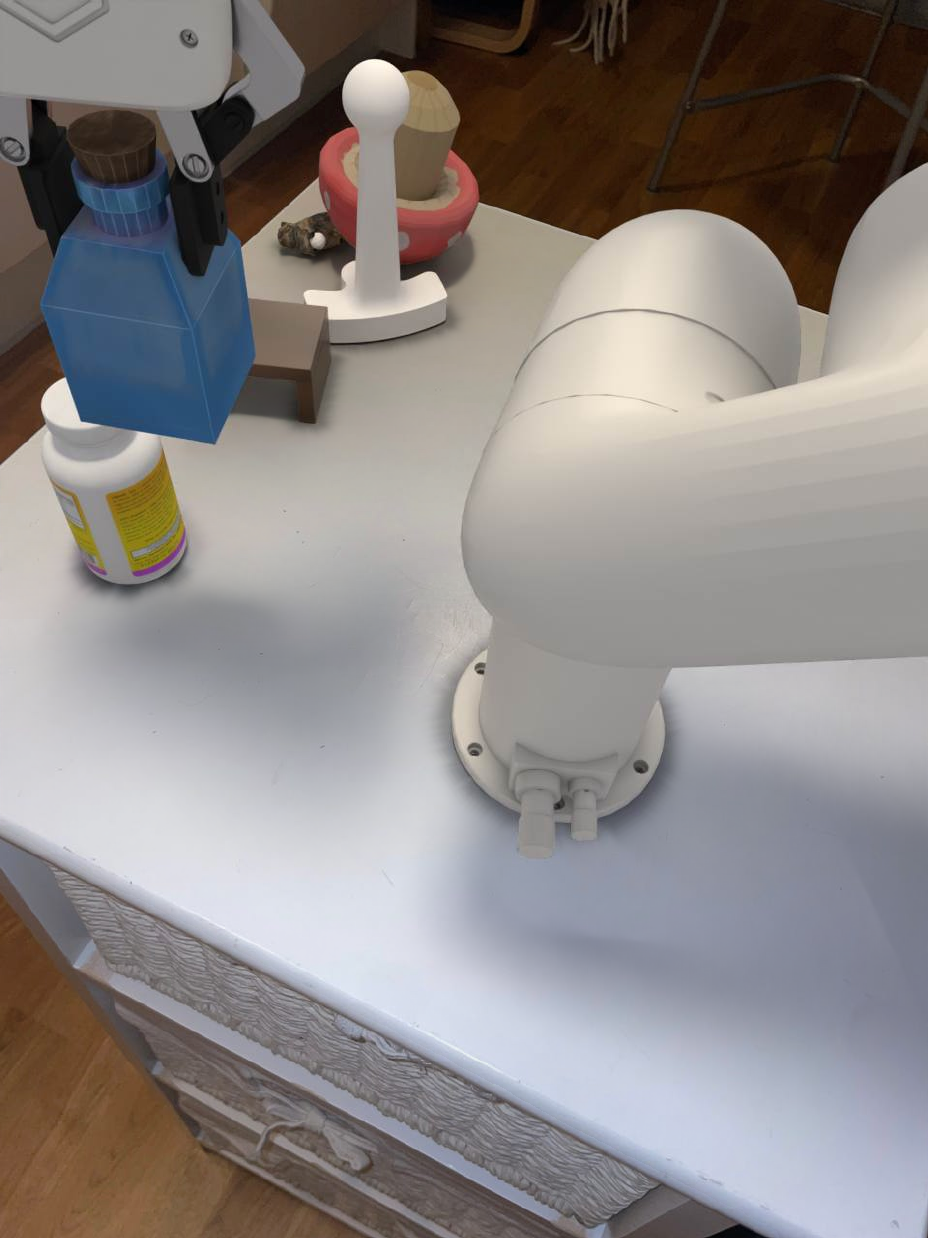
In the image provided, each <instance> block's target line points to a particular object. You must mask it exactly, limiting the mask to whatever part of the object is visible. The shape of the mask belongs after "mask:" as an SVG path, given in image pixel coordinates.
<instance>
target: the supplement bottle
mask: <svg viewBox="0 0 928 1238" xmlns="http://www.w3.org/2000/svg"><path fill="white" fill-rule="evenodd" d="M40 408H41V409H40V410H41V413H42V416H43V419H44V422H45V425H46V428H47V431H46V432H45V434H44V436H43V438H42V441H41V446H40V447H41V449H40V457H41V460H42V461H41V462H42V465H43V468H44V470H45V472H46V474H47V476H48V479H49V482H50V483H51V486H52V488H53V490H54V493H55V495H56V497H57V500H58V502H59V505H60V507H61V510H62V512H63V514H64V517H65V521H66V522H67V524H68V526H69V528H70V531H71V534H72V536H73V538H74V541H75V543H76V545H77V548H78V551H79V552H80V555H81V557H82V560H83V561H84V563H85V564H86V566H87V567H88V569H89V570H90V571H91V572H92V573H93V574H95V575H96V576H97V577H98V578H100V579H102V580H104V581H107V582H109V583H113V584H119V585H139V584H144V583H149V582H151V581H154V580H156V579H159V578H161V577H162V576H164V575H166V574H167V573H168V572H170V571H171V570H172V569H173V568H175V566H176V565H177V564H178V563H179V561H180V560H181V558H182V557H183V555H184V553H185V550H186V548H187V547H186V545H187V531H186V526H185V523H184V519H183V515H182V512H181V508H180V504H179V502H178V498H177V495H176V491H175V490H176V489H175V487H174V483H173V480H172V476H171V473H170V468H169V465H168V461H167V458H166V455H165V451H164V447H163V443H162V439H161V435H156V434H150V433H144V432H138V431H133V430H127V429H121V428H115V427H109V426H104V425H98V424H92V423H86V422H81V421H80V418H79V415H78V412H77V409H76V406H75V403H74V401H73V398H72V395H71V392H70V389H69V386H68V383H67V380H66V378H65V377H62V378H60V379H59V380H57V381H56V382H54V383H53V384H51V385H50V386H49V387H48V388H47V390H46V391H45V392H44V394H43V396H42V398H41V402H40Z"/></svg>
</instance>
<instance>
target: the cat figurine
mask: <svg viewBox="0 0 928 1238" xmlns="http://www.w3.org/2000/svg"><path fill="white" fill-rule="evenodd" d="M277 241H278V243H279V245H281V246H282V247H283V248H286V249H291V250H296V251H297V252H300V253H303V254H305V255H311V256H315V255H317V254H318V252H319V251H320V250H326V249H327V250H328V249H331V248H333V247H334V246H336V245H339V246H341V245H342V244H344V243H345V238H344V237H343V236H342V235H341V234H340V233H337V232H336V228H335V227H334V225H333V223H332V221H331V219H330V216H329V214H328V212H327V211H322V212H318V213H316V214H313V215H310V216H308V217H304V218H303V219H301V220H299V221H297V222H294V223H292V222H288V221H281V223H280V228H278V232H277Z"/></svg>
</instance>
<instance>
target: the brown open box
mask: <svg viewBox="0 0 928 1238" xmlns="http://www.w3.org/2000/svg"><path fill="white" fill-rule="evenodd" d="M248 302H249V309H250V316H251V323H252V331H253V338H254V345H255V352H256V357H255V359H254V362H253V364H252V366H251V368H250V370H249V372H248V375H247V377H250V378H251V377H252V378H260V379H270V380H279V381H289V382H294V383H295V391H296V392H295V393H296V402H297V412H298V413H297V414H298V420H299V423H308V424H309V423H310V424H316V423H317V418H318V414H319V411H320V405H321V401H322V397H323V393H324V389H325V386H326V381H327V378H328V374H329V369H330V365H331V362H332V355H331V353H332V352H331V343H330V336H329V321H328V307H326V306H316V305H307V304H304V303H296V302H286V301H278V300H269V299H260V298H249V297H248Z"/></svg>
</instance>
